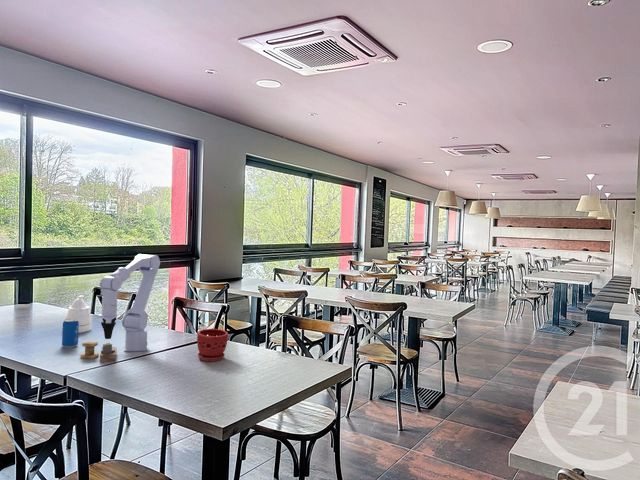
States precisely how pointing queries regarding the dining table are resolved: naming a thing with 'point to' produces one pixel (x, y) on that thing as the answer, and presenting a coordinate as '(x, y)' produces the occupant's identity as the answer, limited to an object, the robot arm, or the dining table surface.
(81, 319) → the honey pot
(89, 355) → the spool
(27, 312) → the dining table surface
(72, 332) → the beverage can
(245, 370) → the dining table surface
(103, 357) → the block with rectangular opening
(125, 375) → the dining table surface
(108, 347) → the grey rectangular block
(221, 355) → the plant pot
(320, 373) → the dining table surface
